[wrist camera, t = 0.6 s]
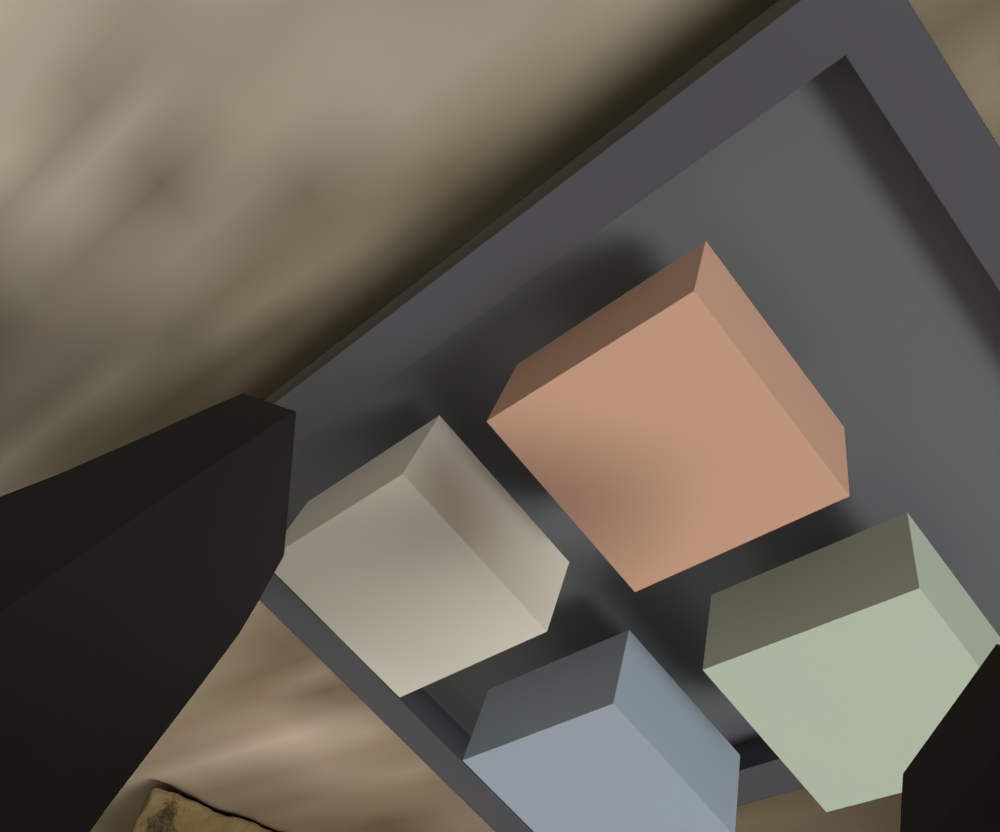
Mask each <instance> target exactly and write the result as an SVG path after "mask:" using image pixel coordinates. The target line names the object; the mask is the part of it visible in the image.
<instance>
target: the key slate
mask: <svg viewBox="0 0 1000 832" xmlns="http://www.w3.org/2000/svg"><path fill="white" fill-rule="evenodd" d="M463 761H464V762H465V763H466V764H467V765H468V766H469V767H470V768H471V769H472V770H473V771H474V772H475V773H476V774H477V775H478V776H479V777H480V778H481V779H482V780H483V781H484V782H485V783H486V784H487V785H488V786H489V787H490V788H491V789H492V790H493V791H494V792H495V793H496V794H497V795H498V796H499V797H500V798H501V799H502V800H503V801H504V802H505V803H506V804H507V805H508V806H509V807H510V808H511V809H512V810H513V811H514V812H515V813H516V814H517V815H518V816H519V817H520V818H521V819H522V820H523V821H524V822H525V823H526V824H527V825H528V826H529V827H530V828H531V829H532V830H533V831H534V832H735V827H736V812H737V797H738V781H739V766H740V754H739V753H738V752H737V751H736V750H735V749H734V748H733V747H732V745H731V744H730V743H729V742H728V741H727V740H726V739H725V738H724V736H723V735H722V734H721V733H720V732H719V731H718V730H717V728H716V727H715V726H714V725H713V724H712V723H711V722H710V721H709V719H708V718H707V717H706V716H705V715H704V714H703V713H702V712H701V710H700V709H699V708H698V707H697V706H696V705H695V704H694V703H693V701H692V700H691V699H690V698H689V697H688V696H687V695H686V693H685V692H684V691H683V690H682V689H681V688H680V687H679V686H678V684H677V683H676V682H675V681H674V680H673V679H672V678H671V677H670V675H669V674H668V673H667V672H666V671H665V670H664V669H663V667H662V666H661V665H660V664H659V663H658V662H657V661H656V660H655V658H654V657H653V656H652V655H651V654H650V653H649V652H648V651H647V649H646V648H645V647H644V646H643V645H642V644H641V643H640V641H639V640H638V639H637V638H636V637H635V636H634V635H633V634H632V632H631V631H630V630H628V631H625V632H623V633H621V634H618V635H616V636H613V637H611V638H609V639H606V640H604V641H602V642H599V643H597V644H595V645H592V646H590V647H587V648H585V649H583V650H580V651H578V652H576V653H573V654H571V655H569V656H566V657H564V658H561V659H559V660H557V661H554V662H552V663H550V664H547V665H545V666H543V667H540V668H538V669H535V670H533V671H531V672H528V673H526V674H524V675H521V676H519V677H517V678H514V679H512V680H510V681H507V682H505V683H502V684H500V685H498V686H495V687H493V688H491V689H489V690H488V692H487V695H486V698H485V701H484V703H483V706H482V709H481V711H480V714H479V717H478V720H477V722H476V725H475V728H474V731H473V733H472V736H471V739H470V741H469V744H468V747H467V750H466V752H465V755H464V758H463Z"/></svg>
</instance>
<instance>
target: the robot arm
mask: <svg viewBox="0 0 1000 832" xmlns="http://www.w3.org/2000/svg"><path fill="white" fill-rule="evenodd" d="M295 421H296V411H293V410H290V409H287V408H284V407H281V406H278V405H275V404H272V403H269V402H266V401H263V400H260V399H257V398H254V397H251V396H248V395H245V394H241V395H239V396H236V397H234V398H231V399H229V400H226V401H224V402H222V403H219V404H217V405H215V406H212V407H210V408H208V409H206V410H203V411H201V412H199V413H197V414H194V415H192V416H190V417H188V418H186V419H183V420H181V421H179V422H177V423H174V424H172V425H170V426H168V427H166V428H163V429H161V430H159V431H157V432H155V433H152V434H150V435H148V436H146V437H143V438H141V439H139V440H137V441H134V442H132V443H130V444H128V445H125V446H123V447H121V448H118V449H116V450H114V451H111V452H109V453H107V454H104V455H102V456H100V457H98V458H95V459H93V460H91V461H88V462H86V463H84V464H81V465H79V466H77V467H75V468H72V469H70V470H68V471H65V472H63V473H61V474H58V475H56V476H53V477H51V478H48V479H45V480H43V481H40V482H38V483H35V484H33V485H30V486H27V487H25V488H22V489H20V490H17V491H14V492H12V493H9V494H7V495H4V496H1V497H0V832H90V831H91V829H92V828H93V826H94V825H95V824H96V822H97V821H98V819H99V818H100V816H101V815H102V814H103V812H104V811H105V809H106V808H107V807H108V805H109V804H110V803H111V801H112V800H113V799H114V797H115V796H116V795H117V794H118V792H119V791H120V790H121V788H122V787H123V786H124V784H125V783H126V782H127V780H128V779H129V778H130V777H131V775H132V774H133V773H134V771H135V770H136V769H137V767H138V766H139V765H140V763H141V762H142V761H143V760H144V758H145V757H146V756H147V754H148V753H149V752H150V750H151V749H152V748H153V746H154V745H155V744H156V743H157V741H158V740H159V739H160V737H161V736H162V735H163V733H164V732H165V731H166V730H167V728H168V727H169V726H170V724H171V723H172V722H173V720H174V719H175V718H176V716H177V715H178V714H179V713H180V711H181V710H182V709H183V707H184V706H185V705H186V703H187V702H188V701H189V699H190V698H191V697H192V696H193V694H194V693H195V692H196V690H197V689H198V688H199V686H200V685H201V684H202V682H203V681H204V680H205V678H206V677H207V676H208V674H209V673H210V672H211V670H212V669H213V668H214V666H215V665H216V664H217V662H218V661H219V660H220V658H221V657H222V656H223V654H224V653H225V652H226V650H227V649H228V648H229V646H230V645H231V644H232V642H233V641H234V640H235V638H236V637H237V636H238V634H239V633H240V631H241V629H242V628H243V626H244V624H245V623H246V621H247V619H248V618H249V616H250V614H251V612H252V611H253V609H254V607H255V606H256V604H257V602H258V601H259V599H260V597H261V596H262V594H263V592H264V590H265V588H266V587H267V585H268V583H269V581H270V580H271V578H272V576H273V574H274V572H275V571H276V569H277V567H278V565H279V564H280V562H281V560H282V558H283V556H284V550H285V538H286V526H287V515H288V503H289V491H290V479H291V468H292V456H293V444H294V433H295ZM900 832H1000V645H999V644H996V645H995V647H994V648H993V650H992V651H991V652H990V654H989V655H988V657H987V658H986V659H985V661H984V662H983V663H982V665H981V666H980V668H979V669H978V670H977V672H976V673H975V675H974V676H973V677H972V679H971V680H970V681H969V683H968V684H967V686H966V687H965V688H964V690H963V691H962V693H961V694H960V695H959V697H958V698H957V699H956V701H955V702H954V704H953V705H952V706H951V708H950V709H949V711H948V712H947V713H946V715H945V716H944V717H943V719H942V720H941V722H940V723H939V724H938V726H937V727H936V729H935V730H934V731H933V733H932V734H931V736H930V737H929V738H928V740H927V741H926V742H925V744H924V745H923V747H922V748H921V749H920V751H919V752H918V754H917V755H916V756H915V758H914V759H913V760H912V762H911V763H910V765H909V766H908V767H907V769H906V770H905V772H904V773H903V782H902V805H901V827H900Z"/></svg>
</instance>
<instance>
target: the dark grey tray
mask: <svg viewBox="0 0 1000 832" xmlns="http://www.w3.org/2000/svg"><path fill="white" fill-rule="evenodd" d="M704 241H706V242H707V243H708V244H709V246H710V247H711V248H712V250H713V251H714V252H715V254H716V255H717V256H718V258H719V259H720V260H721V262H722V263H723V265H724V266H725V267H726V269H727V270H728V271H729V273H730V274H731V275H732V277H733V278H734V279H735V281H736V282H737V283H738V285H739V286H740V287H741V289H742V290H743V291H744V293H745V294H746V296H747V297H748V298H749V300H750V301H751V302H752V304H753V305H754V306H755V308H756V309H757V310H758V312H759V313H760V314H761V316H762V317H763V318H764V320H765V321H766V322H767V324H768V325H769V327H770V328H771V329H772V331H773V332H774V333H775V335H776V336H777V337H778V339H779V340H780V341H781V343H782V344H783V345H784V347H785V348H786V349H787V351H788V352H789V353H790V355H791V356H792V358H793V359H794V360H795V362H796V363H797V364H798V366H799V367H800V368H801V370H802V371H803V372H804V374H805V375H806V376H807V378H808V379H809V380H810V382H811V383H812V384H813V386H814V387H815V389H816V390H817V391H818V393H819V394H820V395H821V397H822V398H823V399H824V401H825V402H826V403H827V405H828V406H829V407H830V409H831V410H832V411H833V413H834V414H835V415H836V417H837V418H838V420H839V421H840V422H841V424H842V425H843V426H844V430H845V443H846V456H847V469H848V482H849V495H850V496H849V497H847V498H844V499H842V500H840V501H838V502H835V503H833V504H831V505H829V506H827V507H824V508H822V509H820V510H818V511H815V512H813V513H811V514H809V515H806V516H804V517H802V518H800V519H797V520H795V521H793V522H791V523H789V524H786V525H784V526H782V527H780V528H777V529H775V530H773V531H771V532H768V533H766V534H764V535H762V536H759V537H757V538H755V539H753V540H751V541H748V542H746V543H744V544H742V545H739V546H737V547H735V548H733V549H730V550H728V551H726V552H724V553H721V554H719V555H717V556H715V557H713V558H710V559H708V560H706V561H704V562H701V563H699V564H697V565H695V566H692V567H690V568H688V569H686V570H684V571H681V572H679V573H677V574H675V575H672V576H670V577H668V578H666V579H663V580H661V581H659V582H657V583H654V584H652V585H650V586H648V587H646V588H643V589H641V590H639V591H637V592H634V590H633V589H632V588H631V587H630V586H629V585H628V584H627V582H626V581H625V580H624V579H623V578H622V577H621V576H620V574H619V573H618V572H617V571H616V570H615V569H614V567H613V566H612V565H611V564H610V563H609V562H608V561H607V559H606V558H605V557H604V556H603V555H602V554H601V553H600V551H599V550H598V549H597V548H596V547H595V546H594V544H593V543H592V542H591V541H590V540H589V539H588V538H587V536H586V535H585V534H584V533H583V532H582V531H581V530H580V528H579V527H578V526H577V525H576V524H575V523H574V521H573V520H572V519H571V518H570V517H569V516H568V515H567V513H566V512H565V511H564V510H563V509H562V508H561V507H560V505H559V504H558V503H557V502H556V501H555V500H554V498H553V497H552V496H551V495H550V494H549V493H548V492H547V490H546V489H545V488H544V487H543V486H542V485H541V484H540V482H539V481H538V480H537V479H536V478H535V477H534V475H533V474H532V473H531V472H530V471H529V470H528V469H527V467H526V466H525V465H524V464H523V463H522V462H521V461H520V459H519V458H518V457H517V456H516V455H515V454H514V452H513V451H512V450H511V449H510V448H509V447H508V446H507V444H506V443H505V442H504V441H503V440H502V439H501V438H500V436H499V435H498V434H497V433H496V432H495V431H494V429H493V428H492V427H491V426H490V425H489V424H488V423H487V419H488V418H489V416H490V414H491V412H492V410H493V408H494V406H495V405H496V403H497V401H498V399H499V397H500V395H501V394H502V392H503V390H504V388H505V386H506V384H507V382H508V381H509V379H510V377H511V375H512V373H513V371H514V370H515V368H516V366H517V364H519V363H520V362H522V361H523V360H525V359H526V358H528V357H529V356H531V355H532V354H534V353H535V352H537V351H538V350H540V349H541V348H543V347H544V346H546V345H547V344H549V343H551V342H552V341H554V340H555V339H557V338H558V337H560V336H561V335H563V334H564V333H566V332H567V331H569V330H570V329H572V328H573V327H575V326H576V325H578V324H579V323H581V322H583V321H584V320H586V319H587V318H589V317H590V316H592V315H593V314H595V313H596V312H598V311H599V310H601V309H602V308H604V307H605V306H607V305H608V304H610V303H611V302H613V301H615V300H616V299H618V298H619V297H621V296H622V295H624V294H625V293H627V292H628V291H630V290H631V289H633V288H634V287H636V286H637V285H639V284H640V283H642V282H643V281H645V280H647V279H648V278H650V277H651V276H653V275H654V274H656V273H657V272H659V271H660V270H662V269H663V268H665V267H666V266H668V265H669V264H671V263H672V262H674V261H675V260H677V259H679V258H680V257H682V256H683V255H685V254H686V253H688V252H689V251H691V250H692V249H694V248H695V247H697V246H698V245H700V244H701V243H703V242H704ZM263 401H266V402H269V403H272V404H275V405H278V406H281V407H284V408H287V409H290V410H293V411H296V421H295V433H294V444H293V456H292V468H291V479H290V491H289V503H288V515H287V526H286V531H287V529H288V528H289V527H290V525H291V524H292V522H293V521H294V520H295V518H296V517H297V516H298V514H299V513H300V512H301V510H302V509H303V508H304V506H305V505H306V504H307V502H308V501H310V500H311V499H313V498H314V497H316V496H317V495H319V494H320V493H322V492H324V491H325V490H327V489H328V488H330V487H331V486H333V485H334V484H336V483H337V482H339V481H340V480H342V479H343V478H345V477H346V476H348V475H349V474H351V473H352V472H354V471H356V470H357V469H359V468H360V467H362V466H363V465H365V464H366V463H368V462H369V461H371V460H372V459H374V458H375V457H377V456H378V455H380V454H381V453H383V452H384V451H386V450H388V449H389V448H391V447H392V446H394V445H395V444H397V443H398V442H400V441H401V440H403V439H404V438H406V437H407V436H409V435H410V434H412V433H413V432H415V431H416V430H418V429H420V428H421V427H423V426H424V425H426V424H427V423H429V422H430V421H432V420H433V419H435V418H436V417H438V416H439V415H440V417H441V418H442V419H443V420H444V421H445V422H446V423H447V424H448V426H449V427H450V428H451V429H452V430H453V431H454V432H455V434H456V435H457V436H458V437H459V438H460V439H461V440H462V441H463V443H464V444H465V445H466V446H467V447H468V448H469V449H470V450H471V452H472V453H473V454H474V455H475V456H476V457H477V458H478V460H479V461H480V462H481V463H482V464H483V465H484V466H485V467H486V469H487V470H488V471H489V472H490V473H491V474H492V475H493V476H494V478H495V479H496V480H497V481H498V482H499V483H500V484H501V486H502V487H503V488H504V489H505V490H506V491H507V492H508V493H509V495H510V496H511V497H512V498H513V499H514V500H515V501H516V502H517V504H518V505H519V506H520V507H521V508H522V509H523V510H524V512H525V513H526V514H527V515H528V516H529V517H530V518H531V519H532V521H533V522H534V523H535V524H536V525H537V526H538V527H539V528H540V530H541V531H542V532H543V533H544V534H545V535H546V536H547V537H548V539H549V540H550V541H551V542H552V543H553V544H554V545H555V547H556V548H557V549H558V550H559V551H560V552H561V553H562V554H563V556H564V557H565V558H566V559H567V560H568V561H569V565H568V568H567V571H566V574H565V577H564V580H563V583H562V587H561V590H560V593H559V596H558V599H557V602H556V605H555V608H554V612H553V615H552V618H551V621H550V624H549V627H548V630H547V632H545V633H543V634H540V635H538V636H536V637H534V638H532V639H529V640H527V641H525V642H523V643H520V644H518V645H516V646H514V647H511V648H509V649H507V650H505V651H502V652H500V653H498V654H496V655H494V656H491V657H489V658H487V659H485V660H482V661H480V662H478V663H476V664H473V665H471V666H469V667H467V668H465V669H462V670H460V671H458V672H456V673H453V674H451V675H449V676H447V677H444V678H442V679H440V680H438V681H435V682H433V683H431V684H429V685H427V686H424V687H422V688H420V689H418V690H415V691H413V692H411V693H409V694H406V695H404V696H402V697H399V696H398V695H397V694H396V693H395V692H394V691H393V690H392V689H391V688H390V687H389V686H388V685H387V684H386V683H385V682H384V681H383V680H382V679H381V678H380V677H379V676H378V675H377V674H376V673H375V672H374V671H373V670H372V669H370V668H369V667H368V666H367V665H366V664H365V663H364V662H363V661H362V660H361V659H360V658H359V657H358V656H357V655H356V654H355V653H354V652H353V651H352V650H351V649H350V648H349V647H348V646H347V645H346V644H345V643H344V642H343V641H342V640H341V639H340V638H339V637H338V636H337V635H336V634H335V633H334V632H333V631H332V630H331V629H330V628H329V627H328V626H327V625H326V624H325V623H324V622H323V621H322V620H321V619H320V618H319V617H318V616H317V615H316V614H315V613H314V612H313V611H312V610H311V609H310V608H309V607H308V606H307V605H306V604H305V603H304V602H303V601H302V600H301V599H300V598H299V597H298V596H297V595H296V594H295V593H294V592H293V591H292V590H291V589H290V588H289V587H288V586H287V585H286V584H285V583H284V582H283V581H282V580H281V579H280V578H279V577H278V576H277V575H276V574H275V573H274V574H273V576H272V578H271V580H270V581H269V583H268V585H267V587H266V588H265V590H264V592H263V594H262V596H261V597H260V599H259V600H260V601H261V602H262V603H263V604H264V605H265V606H266V607H267V608H268V609H269V610H270V611H271V612H272V613H274V614H275V615H276V616H277V617H278V618H279V619H280V620H281V621H282V622H283V623H284V624H285V625H286V626H287V627H288V628H289V629H290V630H291V631H292V632H293V633H294V634H295V635H296V636H297V637H298V638H299V639H300V640H301V641H302V642H303V643H304V644H305V645H306V646H307V647H308V648H309V649H310V650H311V651H312V652H313V653H314V654H315V655H316V656H317V657H318V658H319V659H320V660H321V661H322V662H323V663H324V664H325V665H326V666H327V667H328V668H329V669H330V670H331V671H333V672H334V673H335V674H336V675H337V676H338V677H339V678H340V679H341V680H342V681H343V682H344V683H345V684H346V685H347V686H348V687H349V688H350V689H351V690H352V691H353V692H354V693H355V694H356V695H357V696H358V697H359V698H360V699H361V700H362V701H363V702H364V703H365V704H366V705H367V706H368V707H369V708H370V709H371V710H372V711H373V712H374V713H375V714H376V715H377V716H378V717H379V718H380V719H381V720H382V721H383V722H384V723H385V724H386V725H387V726H388V727H389V728H390V729H392V730H393V731H394V732H395V733H396V734H397V735H398V736H399V737H400V738H401V739H402V740H403V741H404V742H405V743H406V744H407V745H408V746H409V747H410V748H411V749H412V750H413V751H414V752H415V753H416V754H417V755H418V756H419V757H420V758H421V759H422V760H423V761H424V762H425V763H426V764H427V765H428V766H429V767H430V768H431V769H432V770H433V771H434V772H435V773H436V774H437V775H438V776H439V777H440V778H441V779H442V780H443V781H444V782H445V783H446V784H447V785H448V786H450V787H451V788H452V789H453V790H454V791H455V792H456V793H457V794H458V795H459V796H460V797H461V798H462V799H463V800H464V801H465V802H466V803H467V804H468V805H469V806H470V807H471V808H472V809H473V810H474V811H475V812H476V813H477V814H478V815H479V816H480V817H481V818H482V819H483V820H484V821H485V822H486V823H487V824H488V825H489V826H490V827H491V828H492V829H493V830H494V831H495V832H534V831H533V830H532V829H531V828H530V827H529V826H528V825H527V824H526V823H525V822H524V821H523V820H522V819H521V818H520V817H519V816H518V815H517V814H516V813H515V812H514V811H513V810H512V809H511V808H510V807H509V806H508V805H507V804H506V803H505V802H504V801H503V800H502V799H501V798H500V797H499V796H498V795H497V794H496V793H495V792H494V791H493V790H492V789H491V788H490V787H489V786H488V785H487V784H486V783H485V782H484V781H483V780H482V779H481V778H480V777H479V776H478V775H477V774H476V773H475V772H474V771H473V770H472V769H471V768H470V767H469V766H468V765H467V764H466V763H465V762H464V761H463V758H464V755H465V752H466V750H467V747H468V744H469V741H470V739H471V736H472V733H473V731H474V728H475V725H476V722H477V720H478V717H479V714H480V711H481V709H482V706H483V703H484V701H485V698H486V695H487V692H488V690H489V689H491V688H493V687H495V686H498V685H500V684H502V683H505V682H507V681H510V680H512V679H514V678H517V677H519V676H521V675H524V674H526V673H528V672H531V671H533V670H535V669H538V668H540V667H543V666H545V665H547V664H550V663H552V662H554V661H557V660H559V659H561V658H564V657H566V656H569V655H571V654H573V653H576V652H578V651H580V650H583V649H585V648H587V647H590V646H592V645H595V644H597V643H599V642H602V641H604V640H606V639H609V638H611V637H613V636H616V635H618V634H621V633H623V632H625V631H628V630H630V631H631V632H632V634H633V635H634V636H635V637H636V638H637V639H638V640H639V641H640V643H641V644H642V645H643V646H644V647H645V648H646V649H647V651H648V652H649V653H650V654H651V655H652V656H653V657H654V658H655V660H656V661H657V662H658V663H659V664H660V665H661V666H662V667H663V669H664V670H665V671H666V672H667V673H668V674H669V675H670V677H671V678H672V679H673V680H674V681H675V682H676V683H677V684H678V686H679V687H680V688H681V689H682V690H683V691H684V692H685V693H686V695H687V696H688V697H689V698H690V699H691V700H692V701H693V703H694V704H695V705H696V706H697V707H698V708H699V709H700V710H701V712H702V713H703V714H704V715H705V716H706V717H707V718H708V719H709V721H710V722H711V723H712V724H713V725H714V726H715V727H716V728H717V730H718V731H719V732H720V733H721V734H722V735H723V736H724V738H725V739H726V740H727V741H728V742H729V743H730V744H731V745H732V747H733V748H734V749H735V750H736V751H737V752H738V753H739V754H740V766H739V781H738V797H737V806H740V805H743V804H747V803H750V802H754V801H758V800H761V799H765V798H768V797H772V796H775V795H779V794H782V793H786V792H790V791H793V790H797V789H800V788H804V786H803V785H802V784H801V782H800V781H799V780H798V779H797V778H796V777H795V776H794V774H793V773H792V772H791V771H790V770H789V769H788V768H787V766H786V765H785V764H784V763H783V762H782V761H781V759H780V758H779V757H778V756H777V755H776V754H775V753H774V751H773V750H772V749H771V748H770V747H769V746H768V745H767V743H766V742H765V741H764V740H763V739H762V738H761V736H760V735H759V734H758V733H757V732H756V731H755V730H754V728H753V727H752V726H751V725H750V724H749V723H748V722H747V720H746V719H745V718H744V717H743V716H742V715H741V713H740V712H739V711H738V710H737V709H736V708H735V707H734V705H733V704H732V703H731V702H730V701H729V700H728V699H727V697H726V696H725V695H724V694H723V693H722V692H721V690H720V689H719V688H718V687H717V686H716V685H715V684H714V682H713V681H712V680H711V679H710V678H709V677H708V676H707V674H706V673H705V672H704V671H703V663H704V654H705V645H706V637H707V628H708V620H709V611H710V603H711V595H713V594H715V593H717V592H720V591H722V590H724V589H727V588H729V587H732V586H734V585H736V584H739V583H741V582H743V581H746V580H748V579H750V578H753V577H755V576H757V575H760V574H762V573H765V572H767V571H769V570H772V569H774V568H776V567H779V566H781V565H783V564H786V563H788V562H791V561H793V560H795V559H798V558H800V557H802V556H805V555H807V554H809V553H812V552H814V551H817V550H819V549H821V548H824V547H826V546H828V545H831V544H833V543H835V542H838V541H840V540H843V539H845V538H847V537H850V536H852V535H854V534H857V533H859V532H861V531H864V530H866V529H868V528H871V527H873V526H876V525H878V524H880V523H883V522H885V521H887V520H890V519H892V518H894V517H897V516H899V515H902V514H904V513H906V512H908V514H909V515H910V517H911V518H912V519H913V521H914V522H915V523H916V525H917V526H918V527H919V529H920V530H921V531H922V533H923V534H924V535H925V537H926V538H927V539H928V541H929V542H930V543H931V545H932V546H933V548H934V549H935V550H936V552H937V553H938V554H939V556H940V557H941V558H942V560H943V561H944V562H945V564H946V565H947V566H948V568H949V569H950V570H951V572H952V573H953V574H954V576H955V577H956V579H957V580H958V581H959V583H960V584H961V585H962V587H963V588H964V589H965V591H966V592H967V593H968V595H969V596H970V597H971V599H972V600H973V601H974V603H975V604H976V605H977V607H978V608H979V610H980V611H981V612H982V614H983V615H984V616H985V618H986V619H987V620H988V622H989V623H990V624H991V626H992V627H993V628H994V630H995V631H996V632H997V634H998V635H999V636H1000V148H999V146H998V144H997V143H996V141H995V140H994V138H993V136H992V135H991V133H990V132H989V130H988V128H987V127H986V125H985V123H984V122H983V120H982V119H981V117H980V115H979V114H978V112H977V111H976V109H975V107H974V106H973V104H972V103H971V101H970V99H969V98H968V96H967V95H966V93H965V91H964V90H963V88H962V87H961V85H960V83H959V82H958V80H957V79H956V77H955V75H954V74H953V72H952V71H951V69H950V67H949V66H948V64H947V62H946V61H945V59H944V58H943V56H942V54H941V53H940V51H939V50H938V48H937V46H936V45H935V43H934V42H933V40H932V38H931V37H930V35H929V34H928V32H927V30H926V29H925V27H924V26H923V24H922V22H921V21H920V19H919V18H918V16H917V14H916V13H915V11H914V9H913V8H912V6H911V5H910V3H909V1H908V0H778V1H777V2H776V3H774V4H773V5H772V6H770V7H769V8H768V9H767V10H765V11H764V12H763V13H761V14H760V15H759V16H758V17H756V18H755V19H754V20H752V21H751V22H750V23H748V24H747V25H746V26H745V27H743V28H742V29H741V30H739V31H738V32H737V33H736V34H734V35H733V36H732V37H730V38H729V39H728V40H727V41H725V42H724V43H723V44H721V45H720V46H719V47H718V48H716V49H715V50H714V51H712V52H711V53H710V54H709V55H707V56H706V57H705V58H703V59H702V60H701V61H700V62H698V63H697V64H696V65H694V66H693V67H692V68H691V69H689V70H688V71H687V72H685V73H684V74H683V75H682V76H680V77H679V78H678V79H676V80H675V81H674V82H673V83H671V84H670V85H669V86H667V87H666V88H665V89H663V90H662V91H661V92H660V93H658V94H657V95H656V96H654V97H653V98H652V99H651V100H649V101H648V102H647V103H645V104H644V105H643V106H642V107H640V108H639V109H638V110H636V111H635V112H634V113H633V114H631V115H630V116H629V117H627V118H626V119H625V120H624V121H622V122H621V123H620V124H618V125H617V126H616V127H615V128H613V129H612V130H611V131H609V132H608V133H607V134H606V135H604V136H603V137H602V138H600V139H599V140H598V141H597V142H595V143H594V144H593V145H591V146H590V147H589V148H588V149H586V150H585V151H584V152H582V153H581V154H580V155H578V156H577V157H576V158H575V159H573V160H572V161H571V162H569V163H568V164H567V165H566V166H564V167H563V168H562V169H560V170H559V171H558V172H557V173H555V174H554V175H553V176H551V177H550V178H549V179H548V180H546V181H545V182H544V183H542V184H541V185H540V186H539V187H537V188H536V189H535V190H533V191H532V192H531V193H530V194H528V195H527V196H526V197H524V198H523V199H522V200H521V201H519V202H518V203H517V204H515V205H514V206H513V207H512V208H510V209H509V210H508V211H506V212H505V213H504V214H503V215H501V216H500V217H499V218H497V219H496V220H495V221H493V222H492V223H491V224H490V225H488V226H487V227H486V228H484V229H483V230H482V231H481V232H479V233H478V234H477V235H475V236H474V237H473V238H472V239H470V240H469V241H468V242H466V243H465V244H464V245H463V246H461V247H460V248H459V249H457V250H456V251H455V252H454V253H452V254H451V255H450V256H448V257H447V258H446V259H445V260H443V261H442V262H441V263H439V264H438V265H437V266H436V267H434V268H433V269H432V270H430V271H429V272H428V273H427V274H425V275H424V276H423V277H421V278H420V279H419V280H417V281H416V282H415V283H414V284H412V285H411V286H410V287H408V288H407V289H406V290H405V291H403V292H402V293H401V294H399V295H398V296H397V297H396V298H394V299H393V300H392V301H390V302H389V303H388V304H387V305H385V306H384V307H383V308H381V309H380V310H379V311H378V312H376V313H375V314H374V315H372V316H371V317H370V318H369V319H367V320H366V321H365V322H363V323H362V324H361V325H360V326H358V327H357V328H356V329H354V330H353V331H352V332H351V333H349V334H348V335H347V336H345V337H344V338H343V339H342V340H340V341H339V342H338V343H336V344H335V345H334V346H332V347H331V348H330V349H329V350H327V351H326V352H325V353H323V354H322V355H321V356H320V357H318V358H317V359H316V360H314V361H313V362H312V363H311V364H309V365H308V366H307V367H305V368H304V369H303V370H302V371H300V372H299V373H298V374H296V375H295V376H294V377H293V378H291V379H290V380H289V381H287V382H286V383H285V384H284V385H282V386H281V387H280V388H278V389H277V390H276V391H275V392H273V393H272V394H271V395H269V396H268V397H267V398H266V399H264V400H263Z"/></svg>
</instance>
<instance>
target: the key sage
mask: <svg viewBox="0 0 1000 832" xmlns="http://www.w3.org/2000/svg"><path fill="white" fill-rule="evenodd" d="M996 644H999V645H1000V636H999V635H998V634H997V632H996V631H995V630H994V628H993V627H992V626H991V624H990V623H989V622H988V620H987V619H986V618H985V616H984V615H983V614H982V612H981V611H980V610H979V608H978V607H977V605H976V604H975V603H974V601H973V600H972V599H971V597H970V596H969V595H968V593H967V592H966V591H965V589H964V588H963V587H962V585H961V584H960V583H959V581H958V580H957V579H956V577H955V576H954V574H953V573H952V572H951V570H950V569H949V568H948V566H947V565H946V564H945V562H944V561H943V560H942V558H941V557H940V556H939V554H938V553H937V552H936V550H935V549H934V548H933V546H932V545H931V543H930V542H929V541H928V539H927V538H926V537H925V535H924V534H923V533H922V531H921V530H920V529H919V527H918V526H917V525H916V523H915V522H914V521H913V519H912V518H911V517H910V515H909V514H908V512H906V513H904V514H902V515H899V516H897V517H894V518H892V519H890V520H887V521H885V522H883V523H880V524H878V525H876V526H873V527H871V528H868V529H866V530H864V531H861V532H859V533H857V534H854V535H852V536H850V537H847V538H845V539H843V540H840V541H838V542H835V543H833V544H831V545H828V546H826V547H824V548H821V549H819V550H817V551H814V552H812V553H809V554H807V555H805V556H802V557H800V558H798V559H795V560H793V561H791V562H788V563H786V564H783V565H781V566H779V567H776V568H774V569H772V570H769V571H767V572H765V573H762V574H760V575H757V576H755V577H753V578H750V579H748V580H746V581H743V582H741V583H739V584H736V585H734V586H732V587H729V588H727V589H724V590H722V591H720V592H717V593H715V594H713V595H711V603H710V611H709V620H708V628H707V637H706V645H705V654H704V663H703V671H704V672H705V673H706V674H707V676H708V677H709V678H710V679H711V680H712V681H713V682H714V684H715V685H716V686H717V687H718V688H719V689H720V690H721V692H722V693H723V694H724V695H725V696H726V697H727V699H728V700H729V701H730V702H731V703H732V704H733V705H734V707H735V708H736V709H737V710H738V711H739V712H740V713H741V715H742V716H743V717H744V718H745V719H746V720H747V722H748V723H749V724H750V725H751V726H752V727H753V728H754V730H755V731H756V732H757V733H758V734H759V735H760V736H761V738H762V739H763V740H764V741H765V742H766V743H767V745H768V746H769V747H770V748H771V749H772V750H773V751H774V753H775V754H776V755H777V756H778V757H779V758H780V759H781V761H782V762H783V763H784V764H785V765H786V766H787V768H788V769H789V770H790V771H791V772H792V773H793V774H794V776H795V777H796V778H797V779H798V780H799V781H800V782H801V784H802V785H803V786H804V787H805V788H806V789H807V791H808V792H809V793H810V794H811V795H812V796H813V797H814V799H815V800H816V801H817V802H818V803H819V804H820V805H821V807H822V808H823V809H824V810H825V811H826V812H829V811H833V810H837V809H841V808H845V807H848V806H852V805H856V804H860V803H864V802H867V801H871V800H875V799H879V798H883V797H886V796H890V795H894V794H898V793H902V782H903V773H904V772H905V770H906V769H907V767H908V766H909V765H910V763H911V762H912V760H913V759H914V758H915V756H916V755H917V754H918V752H919V751H920V749H921V748H922V747H923V745H924V744H925V742H926V741H927V740H928V738H929V737H930V736H931V734H932V733H933V731H934V730H935V729H936V727H937V726H938V724H939V723H940V722H941V720H942V719H943V717H944V716H945V715H946V713H947V712H948V711H949V709H950V708H951V706H952V705H953V704H954V702H955V701H956V699H957V698H958V697H959V695H960V694H961V693H962V691H963V690H964V688H965V687H966V686H967V684H968V683H969V681H970V680H971V679H972V677H973V676H974V675H975V673H976V672H977V670H978V669H979V668H980V666H981V665H982V663H983V662H984V661H985V659H986V658H987V657H988V655H989V654H990V652H991V651H992V650H993V648H994V647H995V645H996Z"/></svg>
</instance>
